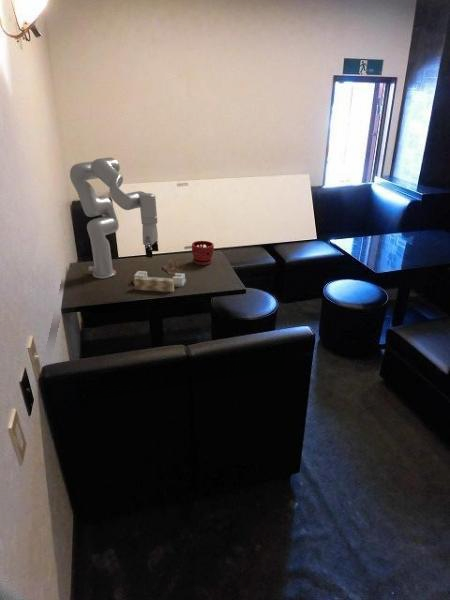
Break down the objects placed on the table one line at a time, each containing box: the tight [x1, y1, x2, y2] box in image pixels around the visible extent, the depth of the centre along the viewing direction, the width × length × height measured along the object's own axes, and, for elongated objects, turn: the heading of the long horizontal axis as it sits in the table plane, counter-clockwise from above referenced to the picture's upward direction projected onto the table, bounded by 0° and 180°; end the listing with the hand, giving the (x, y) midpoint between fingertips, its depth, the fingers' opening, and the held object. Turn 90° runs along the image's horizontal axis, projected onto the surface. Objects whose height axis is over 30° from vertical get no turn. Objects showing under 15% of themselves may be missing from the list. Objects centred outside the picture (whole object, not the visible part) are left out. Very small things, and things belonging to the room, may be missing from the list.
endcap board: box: [133, 270, 187, 287], centre depth 218 cm, size 27×8×4 cm, turn 82°
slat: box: [133, 277, 175, 293], centre depth 209 cm, size 20×2×6 cm, turn 82°
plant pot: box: [191, 240, 215, 266], centre depth 245 cm, size 13×13×12 cm
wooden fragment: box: [161, 259, 182, 276], centre depth 240 cm, size 26×11×1 cm, turn 4°
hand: (152, 254), depth 202 cm, fingers open, 9 cm apart
